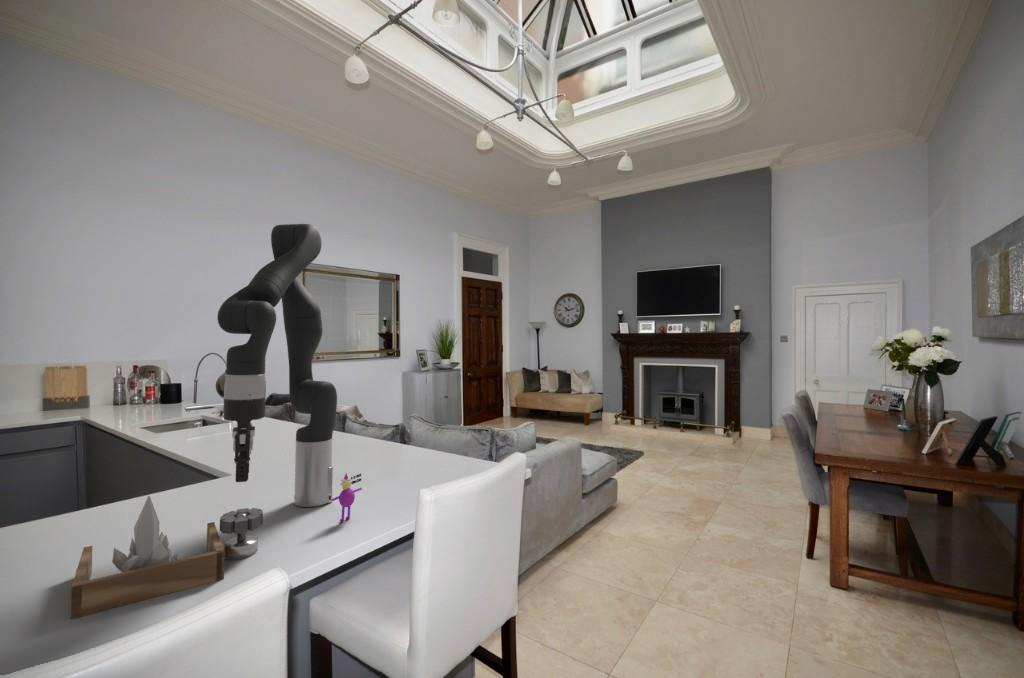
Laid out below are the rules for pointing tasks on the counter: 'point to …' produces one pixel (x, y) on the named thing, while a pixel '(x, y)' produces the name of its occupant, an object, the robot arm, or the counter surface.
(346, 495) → the wizard figurine
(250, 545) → the axle mount
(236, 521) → the wheel
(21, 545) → the counter surface
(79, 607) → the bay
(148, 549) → the crystal
